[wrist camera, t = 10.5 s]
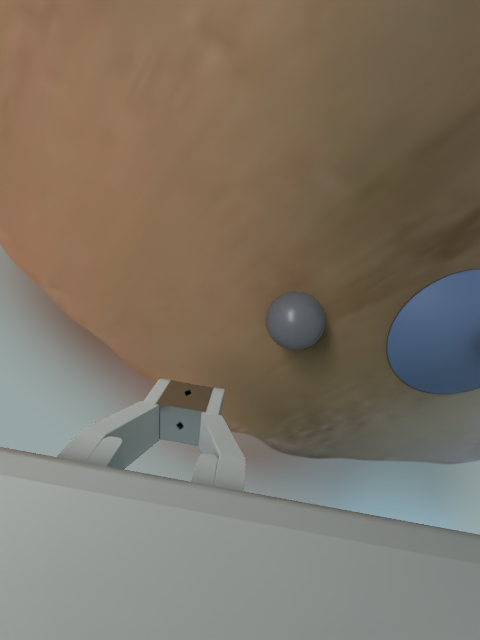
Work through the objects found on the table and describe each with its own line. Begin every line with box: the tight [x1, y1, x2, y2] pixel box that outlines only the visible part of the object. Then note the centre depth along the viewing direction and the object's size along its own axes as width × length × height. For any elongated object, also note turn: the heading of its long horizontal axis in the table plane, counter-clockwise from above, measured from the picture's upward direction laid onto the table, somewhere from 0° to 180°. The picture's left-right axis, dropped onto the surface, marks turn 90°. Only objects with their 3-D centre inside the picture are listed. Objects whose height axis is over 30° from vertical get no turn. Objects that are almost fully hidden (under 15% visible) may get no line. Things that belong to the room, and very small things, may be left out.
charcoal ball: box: [266, 292, 326, 350], centre depth 22 cm, size 6×6×6 cm
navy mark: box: [387, 269, 480, 394], centre depth 24 cm, size 14×14×1 cm
